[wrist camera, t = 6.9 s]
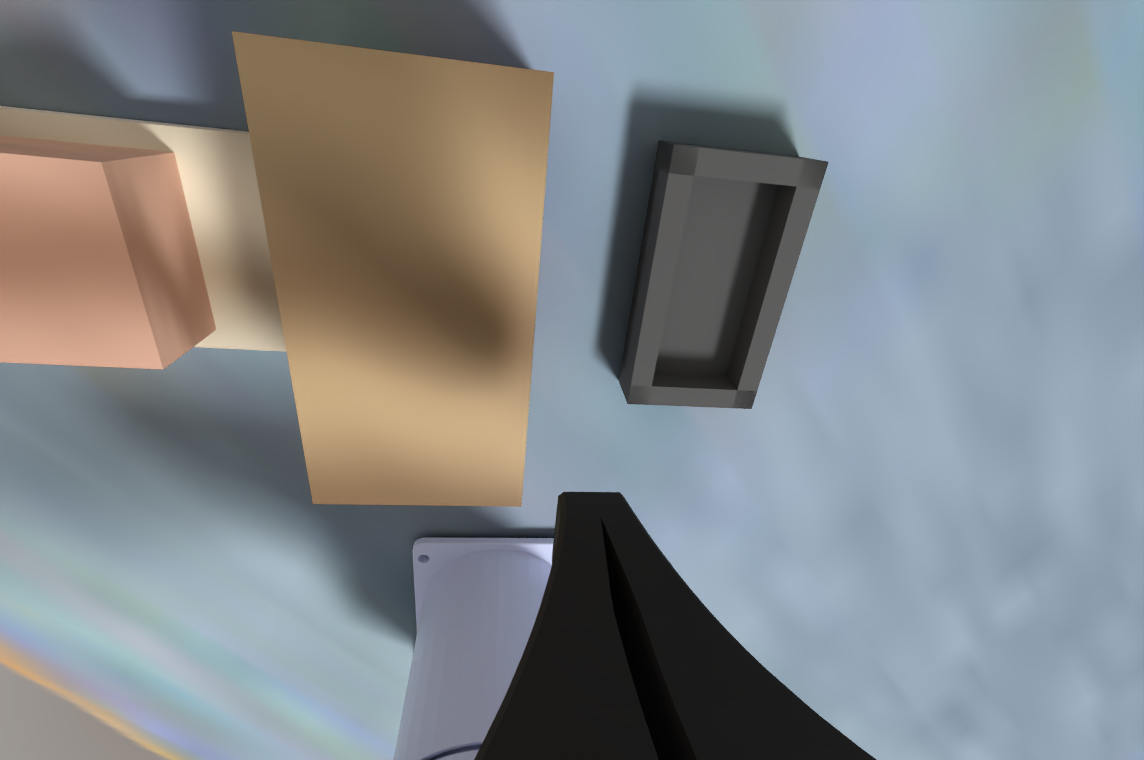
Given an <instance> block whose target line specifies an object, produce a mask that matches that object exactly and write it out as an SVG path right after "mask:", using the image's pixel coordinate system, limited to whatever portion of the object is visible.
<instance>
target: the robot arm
mask: <svg viewBox="0 0 1144 760" xmlns="http://www.w3.org/2000/svg"><path fill="white" fill-rule="evenodd" d="M412 553H413V570H414V588H415V605H416V623H417V637H416V642H415V647H414V653H413V658H412V663H411V669H410V674H409V679H408V685H407V690H406V696H405V701H404V706H403V712H402V717H401V722H400V728H399V733H398V738H397V744H396V749H395V755H394V760H876V759H875V758H874V757H872V756H871V755H869V754H868V753H867V752H865V751H864V750H863V749H861V748H860V747H859V746H857V745H856V744H855V743H854V742H852V741H851V740H850V739H848V738H847V737H846V736H845V735H843V734H842V733H841V732H840V731H838V730H837V729H836V728H835V727H833V726H832V725H831V724H829V723H828V722H827V721H826V720H824V719H823V718H822V717H821V716H819V715H818V714H817V713H816V712H815V711H813V710H812V709H811V708H810V707H809V706H808V705H806V704H805V703H804V702H803V701H802V700H801V699H800V698H798V697H797V696H796V695H795V694H794V693H793V692H792V691H790V690H789V689H788V688H787V687H786V686H785V685H784V684H783V683H781V682H780V681H779V680H778V679H777V678H776V677H775V676H773V675H772V674H771V673H770V672H769V671H768V670H767V669H766V668H764V667H763V666H762V665H761V664H760V663H759V662H758V661H757V660H756V659H755V658H754V657H753V656H752V655H751V654H750V653H749V652H748V651H747V650H746V649H745V648H744V647H743V646H742V645H741V644H740V643H739V642H738V641H737V640H736V639H735V638H734V637H733V636H732V635H731V634H730V633H729V632H728V631H727V630H726V629H725V628H724V627H723V625H722V624H721V623H720V622H719V621H718V620H717V619H716V618H715V617H714V616H713V615H712V613H711V612H710V611H709V610H708V609H707V608H706V607H705V606H704V604H703V603H702V602H701V601H700V600H699V598H698V597H697V596H696V595H695V594H694V593H693V591H692V590H691V589H690V588H689V587H688V585H687V584H686V583H685V582H684V580H683V579H682V578H681V577H680V576H679V574H678V573H677V572H676V570H675V569H674V568H673V566H672V565H671V564H670V562H669V561H668V560H667V559H666V557H665V556H664V555H663V553H662V552H661V551H660V549H659V548H658V547H657V545H656V544H655V542H654V541H653V540H652V538H651V537H650V535H649V534H648V533H647V531H646V530H645V528H644V527H643V525H642V524H641V522H640V521H639V519H638V518H637V516H636V515H635V513H634V512H633V510H632V509H631V507H630V506H629V504H628V503H627V501H626V500H625V498H624V497H623V495H622V494H621V493H620V492H563V493H562V494H561V495H559V496H558V504H557V513H556V523H555V532H554V538H420V539H417V540H416V541H415V542H414V545H413V550H412ZM421 555H427V556H426V557H425V556H421Z"/></svg>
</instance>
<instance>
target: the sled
mask: <svg viewBox="0 0 1144 760" xmlns="http://www.w3.org/2000/svg"><path fill="white" fill-rule="evenodd" d="M193 347H205V348H225V349H245V350H265V351H285V352H287V351H286V345H285V339H284V333H283V328H282V322H281V316H280V310H279V304H278V299H277V293H276V287H275V281H274V275H273V269H272V264H271V258H270V252H269V246H268V240H267V235H266V229H265V223H264V217H263V211H262V205H261V200H260V194H259V188H258V182H257V176H256V171H255V165H254V159H253V153H252V147H251V141H250V136H249V132H248V131H238V130H229V129H219V128H209V127H200V126H190V125H180V124H171V123H161V122H151V121H142V120H132V119H122V118H113V117H103V116H93V115H84V114H74V113H64V112H55V111H45V110H35V109H26V108H16V107H7V106H0V362H8V363H31V364H54V365H76V366H99V367H122V368H145V369H165V368H166V367H167V366H169V365H170V364H171V363H173V362H174V361H175V360H177V359H178V358H179V357H181V356H182V355H183V354H185V353H186V352H187V351H189V350H190V349H191V348H193Z"/></svg>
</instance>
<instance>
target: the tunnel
mask: <svg viewBox="0 0 1144 760" xmlns="http://www.w3.org/2000/svg"><path fill="white" fill-rule="evenodd" d="M232 37H233V43H234V48H235V54H236V60H237V66H238V72H239V77H240V83H241V89H242V95H243V101H244V107H245V112H246V118H247V124H248V130H249V136H250V141H251V147H252V153H253V159H254V165H255V171H256V176H257V182H258V188H259V194H260V200H261V205H262V211H263V217H264V223H265V229H266V235H267V240H268V246H269V252H270V258H271V264H272V269H273V275H274V281H275V287H276V293H277V299H278V304H279V310H280V316H281V322H282V328H283V333H284V339H285V345H286V351H287V357H288V363H289V368H290V374H291V380H292V386H293V392H294V398H295V403H296V409H297V415H298V421H299V427H300V432H301V438H302V444H303V450H304V456H305V462H306V467H307V473H308V479H309V485H310V491H311V496H312V502H313V504H351V505H434V506H518V507H521V504H522V491H523V477H524V464H525V451H526V437H527V424H528V411H529V397H530V384H531V371H532V357H533V344H534V331H535V317H536V304H537V291H538V277H539V264H540V250H541V237H542V224H543V210H544V197H545V184H546V170H547V157H548V144H549V130H550V117H551V104H552V90H553V77H554V72H547V71H540V70H532V69H524V68H516V67H508V66H500V65H493V64H485V63H477V62H469V61H461V60H453V59H446V58H438V57H430V56H422V55H414V54H406V53H399V52H391V51H383V50H375V49H367V48H359V47H352V46H344V45H336V44H328V43H320V42H312V41H305V40H297V39H289V38H281V37H273V36H265V35H258V34H250V33H242V32H234V31H232Z"/></svg>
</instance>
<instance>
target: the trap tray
mask: <svg viewBox="0 0 1144 760" xmlns="http://www.w3.org/2000/svg"><path fill="white" fill-rule="evenodd" d="M827 165H828V162H826V161H820V160H815V159H809V158H803V157H797V156H788V155H779V154H770V153H761V152H752V151H743V150H734V149H725V148H717V147H708V146H699V145H690V144H681V143H672V142H663V141H659V144H658V150H657V156H656V162H655V168H654V174H653V180H652V186H651V192H650V198H649V204H648V210H647V216H646V222H645V228H644V234H643V240H642V246H641V252H640V258H639V264H638V270H637V276H636V282H635V288H634V294H633V300H632V307H631V313H630V319H629V325H628V331H627V337H626V343H625V349H624V355H623V361H622V367H621V373H620V379H619V383H620V385H621V388H622V391H623V393H624V396H625V398H626V401H627V404H644V405H669V406H694V407H719V408H744V409H752V406H753V402H754V399H755V396H756V393H757V390H758V386H759V383H760V380H761V377H762V373H763V370H764V367H765V364H766V361H767V357H768V354H769V351H770V348H771V345H772V341H773V338H774V335H775V332H776V329H777V325H778V322H779V319H780V316H781V313H782V309H783V306H784V303H785V300H786V297H787V293H788V290H789V287H790V284H791V280H792V277H793V274H794V271H795V268H796V264H797V261H798V258H799V255H800V252H801V248H802V245H803V242H804V239H805V236H806V232H807V229H808V226H809V223H810V220H811V216H812V213H813V210H814V207H815V203H816V200H817V197H818V194H819V191H820V187H821V184H822V181H823V178H824V175H825V171H826V168H827Z"/></svg>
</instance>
